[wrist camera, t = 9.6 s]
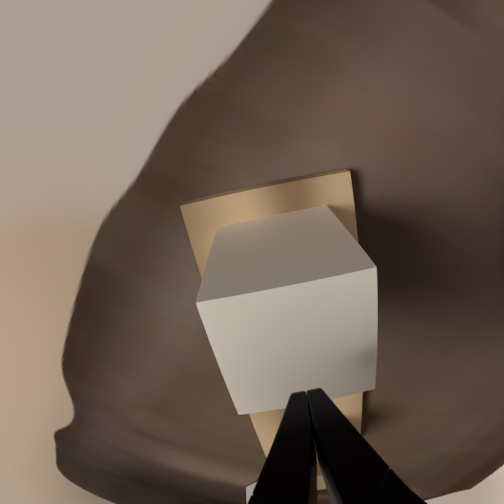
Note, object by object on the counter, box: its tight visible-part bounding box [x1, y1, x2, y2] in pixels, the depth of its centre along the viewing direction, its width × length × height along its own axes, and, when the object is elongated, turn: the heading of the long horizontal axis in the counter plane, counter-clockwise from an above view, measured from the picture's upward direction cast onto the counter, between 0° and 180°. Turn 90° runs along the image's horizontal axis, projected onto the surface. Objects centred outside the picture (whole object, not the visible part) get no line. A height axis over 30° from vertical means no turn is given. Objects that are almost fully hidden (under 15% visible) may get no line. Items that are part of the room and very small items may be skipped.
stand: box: [180, 169, 363, 490], centre depth 17 cm, size 8×22×6 cm, turn 12°
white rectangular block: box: [196, 205, 378, 415], centre depth 13 cm, size 5×5×7 cm
